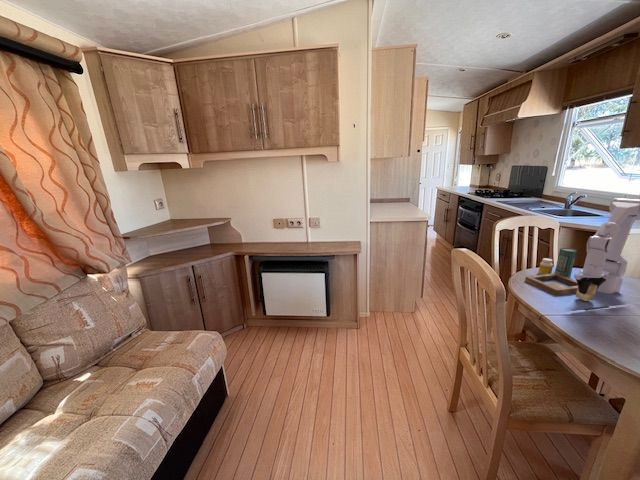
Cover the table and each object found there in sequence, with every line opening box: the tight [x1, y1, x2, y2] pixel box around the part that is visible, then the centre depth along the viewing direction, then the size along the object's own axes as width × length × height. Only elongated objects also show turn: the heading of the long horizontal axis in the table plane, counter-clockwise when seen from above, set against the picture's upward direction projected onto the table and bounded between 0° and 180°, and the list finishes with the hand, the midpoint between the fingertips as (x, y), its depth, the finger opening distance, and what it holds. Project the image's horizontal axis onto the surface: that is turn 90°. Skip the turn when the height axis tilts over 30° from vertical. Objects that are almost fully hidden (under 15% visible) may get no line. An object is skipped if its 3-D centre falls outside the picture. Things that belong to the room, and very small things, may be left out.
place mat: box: [584, 305, 610, 311], centre depth 115 cm, size 11×11×1 cm
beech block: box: [575, 283, 597, 302], centre depth 113 cm, size 4×4×7 cm
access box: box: [524, 272, 578, 296], centre depth 128 cm, size 18×16×4 cm
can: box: [554, 247, 578, 277], centre depth 139 cm, size 6×6×15 cm
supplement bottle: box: [537, 257, 554, 275], centre depth 141 cm, size 5×5×10 cm
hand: (586, 292), depth 113 cm, fingers closed on beech block, 4 cm apart
